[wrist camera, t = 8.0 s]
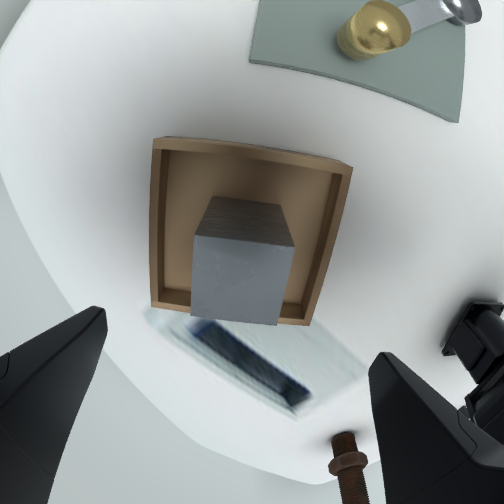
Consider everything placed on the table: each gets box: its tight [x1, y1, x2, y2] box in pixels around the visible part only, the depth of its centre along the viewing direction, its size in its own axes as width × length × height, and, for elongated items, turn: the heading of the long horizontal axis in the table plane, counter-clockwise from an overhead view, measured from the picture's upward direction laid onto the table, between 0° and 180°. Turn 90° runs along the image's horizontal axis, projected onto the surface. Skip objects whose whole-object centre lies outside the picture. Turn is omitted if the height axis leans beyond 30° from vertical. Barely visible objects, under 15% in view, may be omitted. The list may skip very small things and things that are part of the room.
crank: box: [337, 0, 482, 61], centre depth 9 cm, size 13×4×5 cm, turn 127°
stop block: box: [190, 196, 295, 326], centre depth 15 cm, size 4×4×6 cm
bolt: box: [328, 432, 370, 504], centre depth 24 cm, size 6×5×15 cm
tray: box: [149, 136, 353, 326], centre depth 17 cm, size 10×10×2 cm
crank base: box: [249, 0, 465, 123], centre depth 11 cm, size 14×12×2 cm
